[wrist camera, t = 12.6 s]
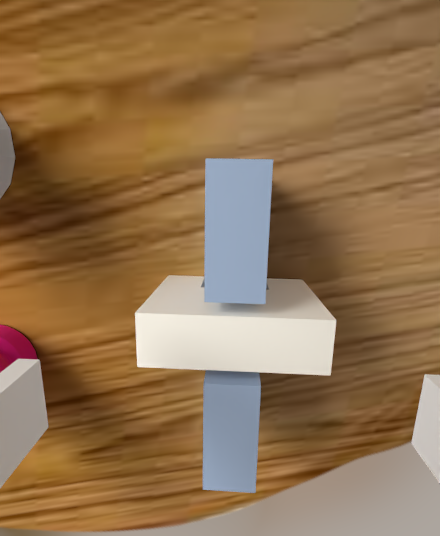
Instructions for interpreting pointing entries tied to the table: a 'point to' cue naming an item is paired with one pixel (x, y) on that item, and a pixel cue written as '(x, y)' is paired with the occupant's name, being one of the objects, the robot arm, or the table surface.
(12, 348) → the pepper mill
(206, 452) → the blue batten
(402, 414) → the table surface
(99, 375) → the table surface
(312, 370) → the white notched block
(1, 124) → the french press
